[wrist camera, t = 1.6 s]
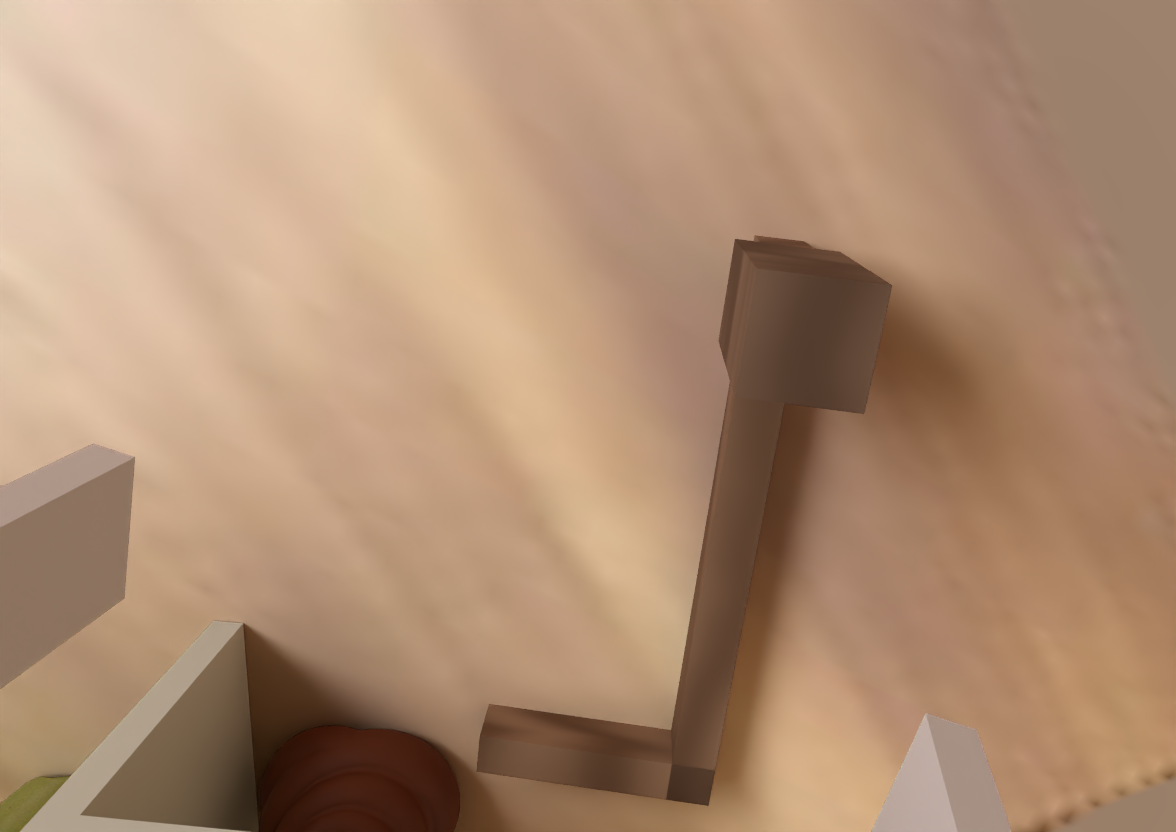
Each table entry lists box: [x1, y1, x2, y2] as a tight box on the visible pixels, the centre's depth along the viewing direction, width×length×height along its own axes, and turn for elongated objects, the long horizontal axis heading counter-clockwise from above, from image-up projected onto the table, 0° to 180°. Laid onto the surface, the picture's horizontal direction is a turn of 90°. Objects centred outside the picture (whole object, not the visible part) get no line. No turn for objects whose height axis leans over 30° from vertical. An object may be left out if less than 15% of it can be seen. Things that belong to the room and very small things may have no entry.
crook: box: [477, 236, 892, 806], centre depth 36 cm, size 12×26×10 cm, turn 174°
